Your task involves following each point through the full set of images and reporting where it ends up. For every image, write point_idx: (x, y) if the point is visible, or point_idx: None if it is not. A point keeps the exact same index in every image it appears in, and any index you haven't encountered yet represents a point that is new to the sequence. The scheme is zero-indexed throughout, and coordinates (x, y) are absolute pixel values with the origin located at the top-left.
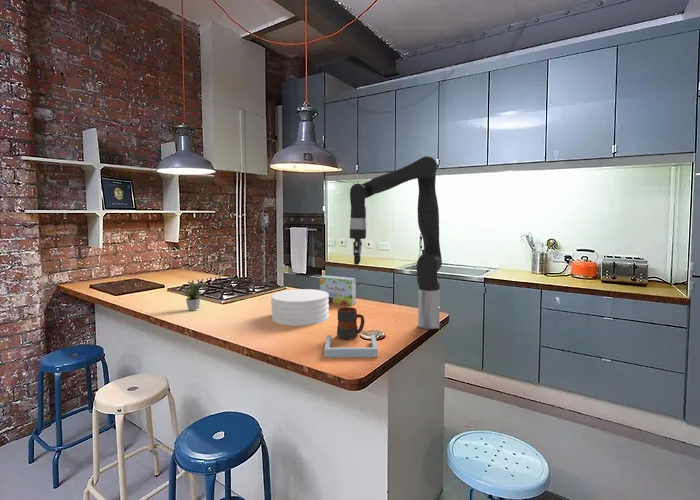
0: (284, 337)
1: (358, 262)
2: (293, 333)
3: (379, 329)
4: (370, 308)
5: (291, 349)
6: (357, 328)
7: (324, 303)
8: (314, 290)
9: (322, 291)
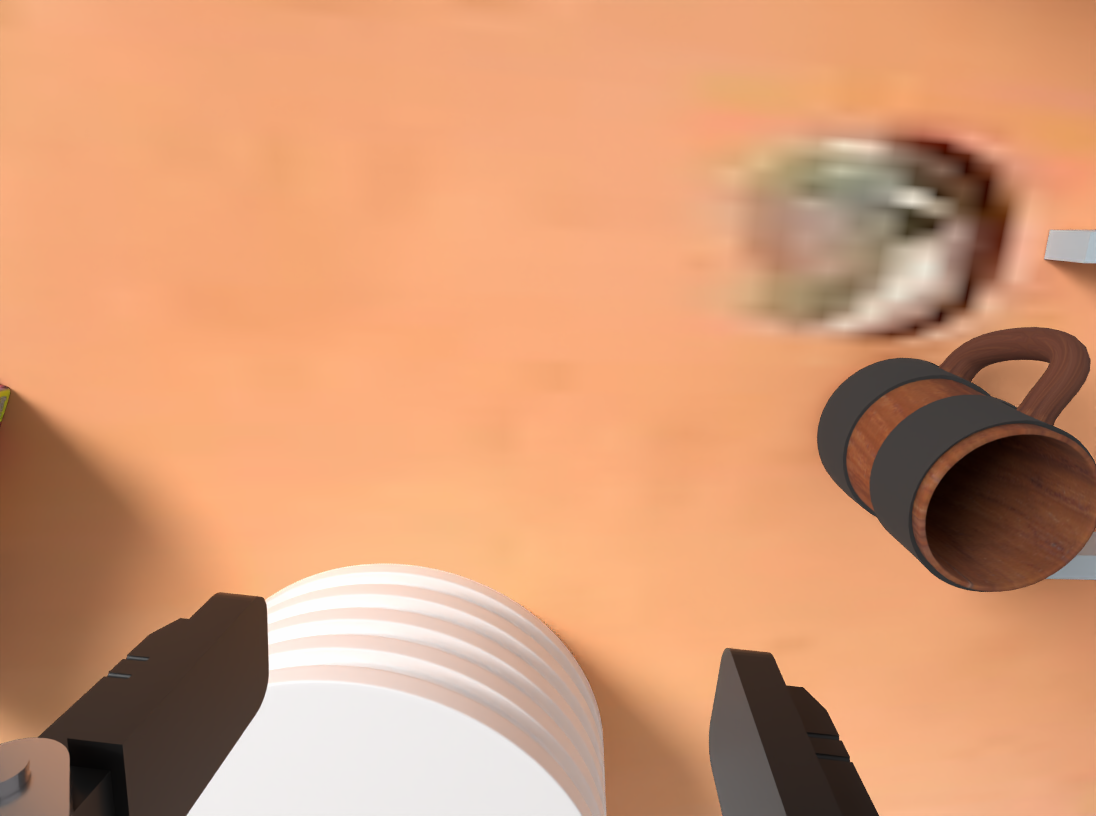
0: None
1: (778, 691)
2: None
3: (738, 172)
4: (77, 217)
5: (1064, 732)
6: (942, 371)
7: (467, 673)
8: None
9: None
